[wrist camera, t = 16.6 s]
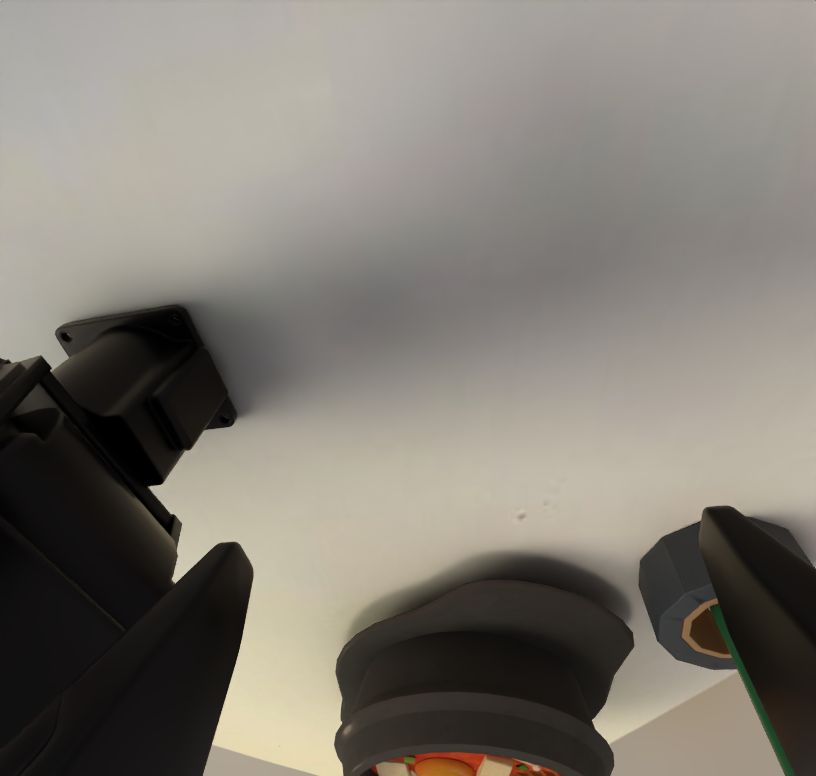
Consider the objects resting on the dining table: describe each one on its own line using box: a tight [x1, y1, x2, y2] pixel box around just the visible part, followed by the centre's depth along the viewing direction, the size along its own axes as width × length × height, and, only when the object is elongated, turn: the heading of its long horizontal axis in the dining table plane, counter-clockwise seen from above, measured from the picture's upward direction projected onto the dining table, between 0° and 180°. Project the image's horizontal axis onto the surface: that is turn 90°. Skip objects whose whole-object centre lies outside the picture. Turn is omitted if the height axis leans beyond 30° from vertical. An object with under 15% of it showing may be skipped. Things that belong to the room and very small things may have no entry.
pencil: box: [708, 603, 795, 776], centre depth 23 cm, size 2×2×14 cm
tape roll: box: [639, 517, 814, 670], centre depth 27 cm, size 8×8×4 cm
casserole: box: [334, 579, 634, 776], centre depth 33 cm, size 25×19×8 cm
